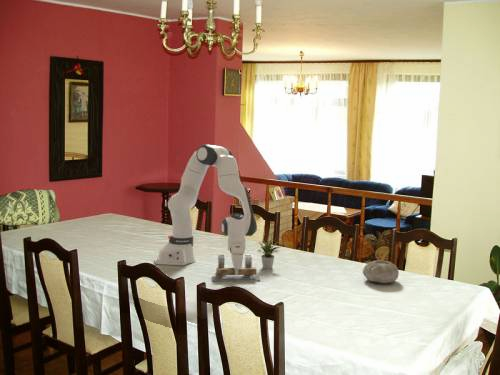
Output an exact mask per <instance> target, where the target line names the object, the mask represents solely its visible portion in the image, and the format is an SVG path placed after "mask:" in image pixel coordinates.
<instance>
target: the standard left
mask: <svg viewBox="0 0 500 375" xmlns="http://www.w3.org/2000/svg"><path fill="white" fill-rule="evenodd" d="M225 259H226V258H225V254H223V253H222V254H217V268H225ZM215 275H216V274H215ZM216 276H227V275H216Z"/></svg>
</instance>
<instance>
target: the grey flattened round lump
mask: <svg viewBox="0 0 500 375" xmlns="http://www.w3.org/2000/svg"><path fill="white" fill-rule="evenodd" d="M362 274H363V276H364V277H365V278H366V279H367V280H368V281H370V282H373V283H380V284H391V283H393V282H395V281H396V280H397V279H398V278H399V274H400V273H399V269H398V267H397V265H395V263H393V262H391V261H387V260H386V261H385V260H379V259H378V260H373V261H370V262H367V263H366V265H365V266H364V267H363V269H362Z"/></svg>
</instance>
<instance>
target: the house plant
mask: <svg viewBox="0 0 500 375" xmlns="http://www.w3.org/2000/svg"><path fill="white" fill-rule="evenodd" d="M274 240H275V239H274V238H272V239H271V240H270V241H269V237H267V242H266V241H265V240H260V241H258V242H257V243H258V244H260V245H261V246H260V249H261V250H260V249H258V250H257V252H261V253H263V254H261V263H262V268H263V269H267V270H268V269H272V268H273V265H274V262H275V255H274V253H278V254H279V250H278V249H279V248H280V249H282V247H280V246H276V245H277V243H279V241H278V242H277V241H276V243H275V242H274ZM262 242H264V244H263V243H262ZM273 242H274V244H273Z"/></svg>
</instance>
